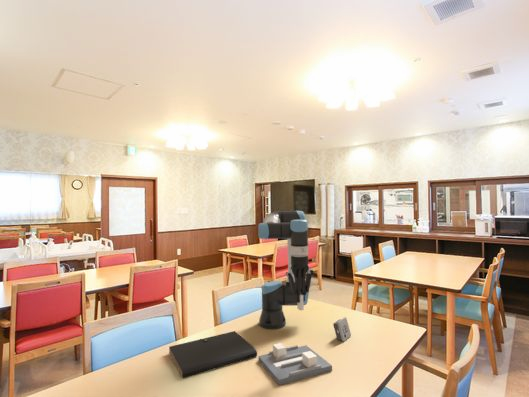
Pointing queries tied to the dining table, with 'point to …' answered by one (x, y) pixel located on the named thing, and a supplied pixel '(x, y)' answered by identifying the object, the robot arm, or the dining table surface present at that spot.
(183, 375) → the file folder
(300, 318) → the dining table surface
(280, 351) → the inner tab
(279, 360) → the switch panel
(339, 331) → the electrical switch
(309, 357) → the outer tab
